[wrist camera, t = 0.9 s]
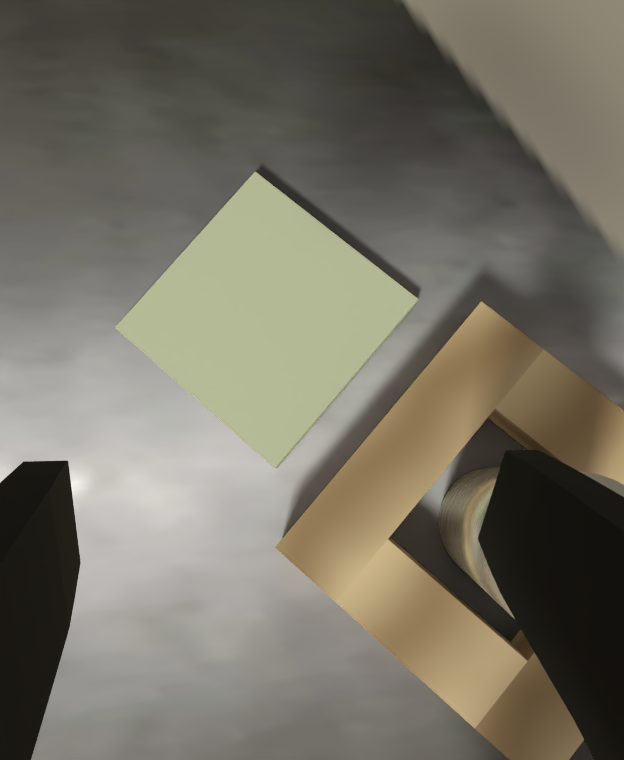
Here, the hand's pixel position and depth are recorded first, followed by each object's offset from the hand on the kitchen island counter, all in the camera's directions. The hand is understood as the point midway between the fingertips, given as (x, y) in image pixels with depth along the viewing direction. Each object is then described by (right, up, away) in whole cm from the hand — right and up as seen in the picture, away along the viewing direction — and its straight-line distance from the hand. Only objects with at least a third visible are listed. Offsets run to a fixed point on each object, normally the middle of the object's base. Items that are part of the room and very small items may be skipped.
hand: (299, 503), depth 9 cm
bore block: (+7, -4, +12) cm, 15 cm away
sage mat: (-2, +5, +14) cm, 15 cm away
